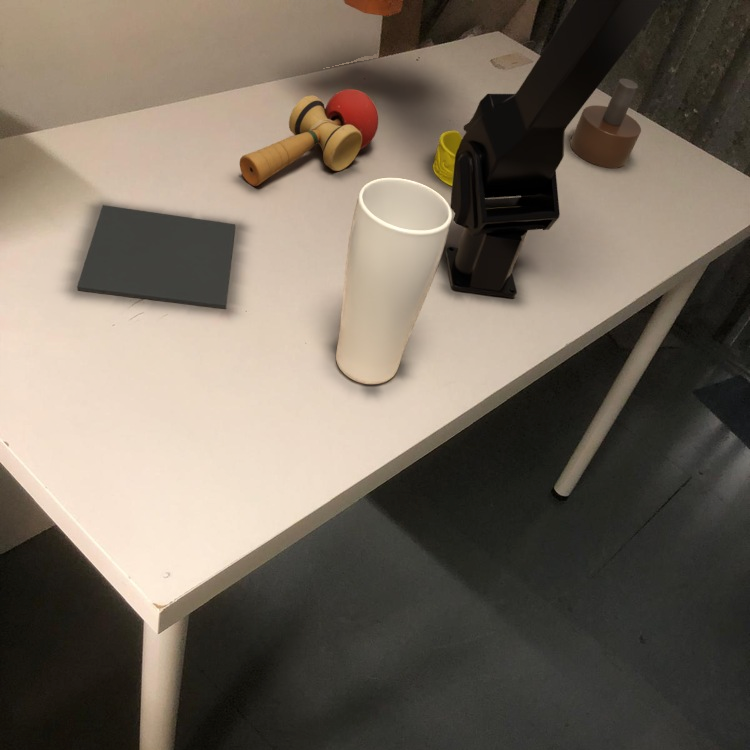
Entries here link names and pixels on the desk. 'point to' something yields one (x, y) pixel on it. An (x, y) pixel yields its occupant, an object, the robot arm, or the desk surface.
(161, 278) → the mat
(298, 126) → the kendama
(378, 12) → the orange hollow octagonal prism
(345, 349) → the drinking glass
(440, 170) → the bracelet
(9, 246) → the desk surface
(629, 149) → the stand
